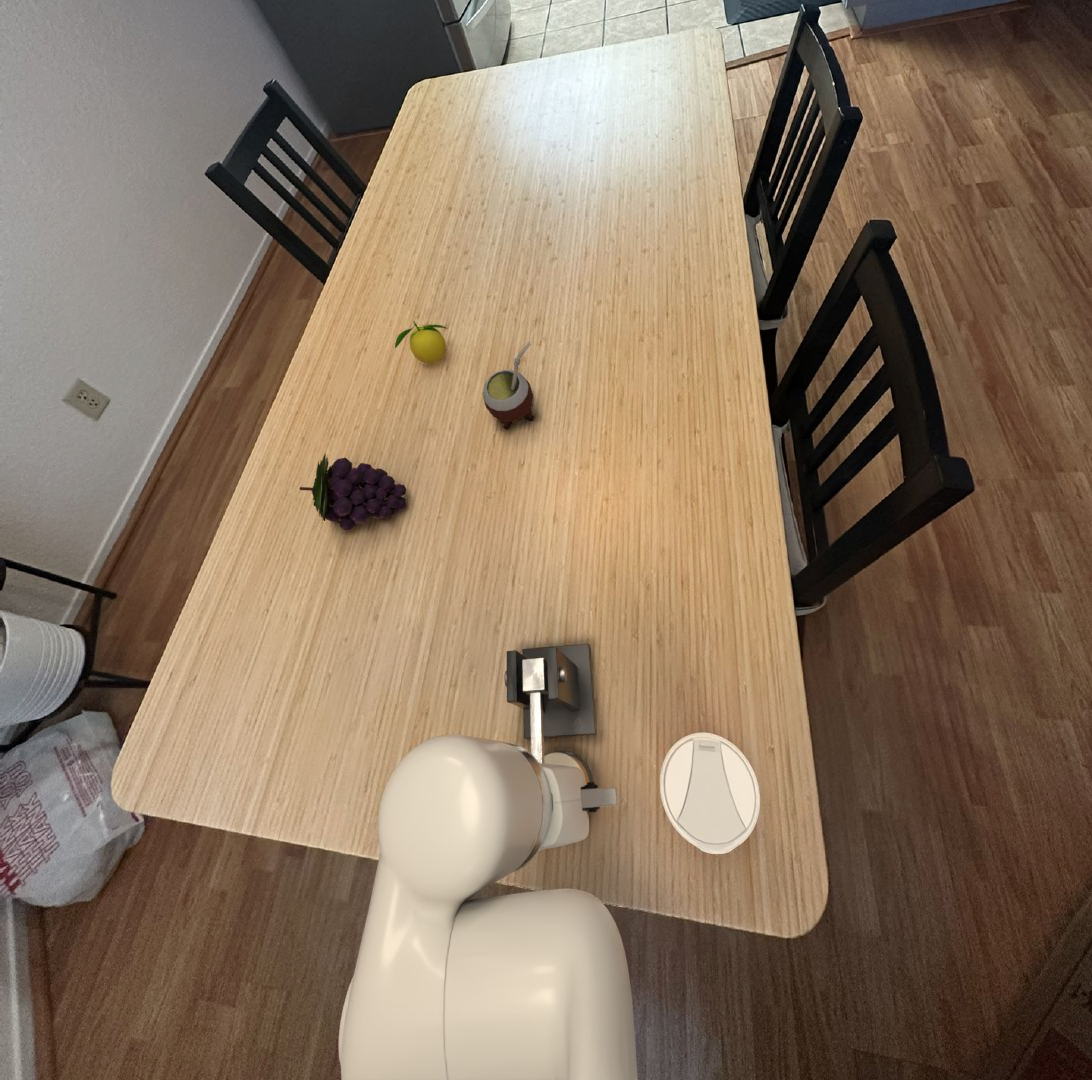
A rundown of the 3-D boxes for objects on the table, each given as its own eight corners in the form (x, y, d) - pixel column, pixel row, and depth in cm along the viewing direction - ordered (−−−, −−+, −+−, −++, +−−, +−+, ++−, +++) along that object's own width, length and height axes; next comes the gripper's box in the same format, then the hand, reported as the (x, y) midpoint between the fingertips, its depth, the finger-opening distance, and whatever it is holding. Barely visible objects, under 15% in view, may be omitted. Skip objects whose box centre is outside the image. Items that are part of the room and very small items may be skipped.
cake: (596, 822, 63) (590, 825, 60) (535, 825, 64) (526, 828, 61) (590, 748, 67) (585, 747, 64) (533, 752, 68) (525, 751, 64)
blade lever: (569, 811, 54) (564, 811, 52) (514, 813, 55) (507, 813, 53) (562, 661, 62) (557, 656, 60) (513, 664, 62) (507, 660, 60)
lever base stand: (597, 734, 68) (576, 726, 56) (526, 738, 69) (490, 732, 57) (590, 645, 73) (569, 620, 61) (524, 650, 74) (491, 627, 62)
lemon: (411, 371, 101) (386, 336, 93) (422, 342, 104) (399, 305, 96) (448, 375, 99) (426, 339, 91) (459, 345, 102) (438, 308, 94)
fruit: (408, 534, 88) (302, 534, 87) (414, 462, 93) (313, 461, 92) (397, 523, 79) (278, 522, 78) (404, 443, 83) (292, 442, 82)
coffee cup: (664, 735, 66) (658, 727, 54) (744, 742, 65) (755, 736, 52) (666, 833, 62) (660, 849, 49) (752, 844, 60) (767, 862, 48)
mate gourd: (485, 422, 92) (453, 370, 80) (511, 381, 96) (485, 324, 84) (526, 441, 89) (500, 389, 77) (552, 398, 93) (531, 341, 80)
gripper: (371, 881, 41) (456, 852, 56) (624, 873, 39) (643, 845, 54) (383, 748, 46) (459, 754, 60) (612, 734, 43) (632, 744, 58)
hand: (545, 797), depth 57 cm, fingers closed on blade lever, 5 cm apart
